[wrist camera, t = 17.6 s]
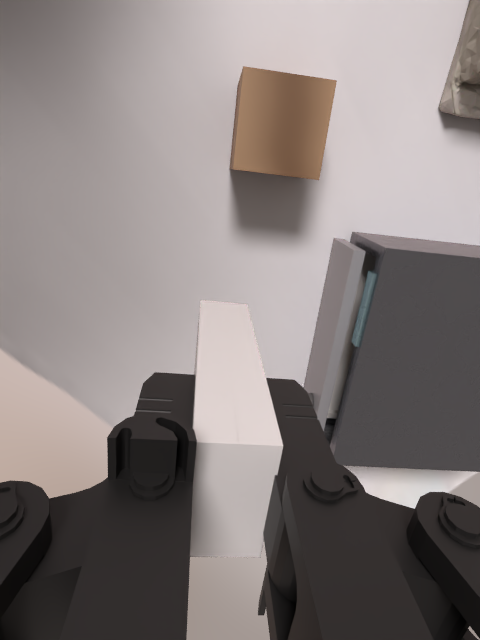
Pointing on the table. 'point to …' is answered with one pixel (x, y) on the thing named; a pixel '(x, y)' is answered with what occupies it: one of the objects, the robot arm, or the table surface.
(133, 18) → the table surface
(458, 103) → the packaged product
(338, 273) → the tray
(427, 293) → the housing
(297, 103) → the block
